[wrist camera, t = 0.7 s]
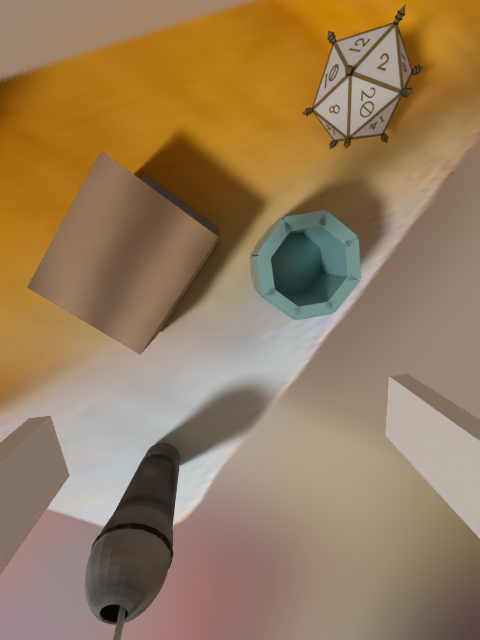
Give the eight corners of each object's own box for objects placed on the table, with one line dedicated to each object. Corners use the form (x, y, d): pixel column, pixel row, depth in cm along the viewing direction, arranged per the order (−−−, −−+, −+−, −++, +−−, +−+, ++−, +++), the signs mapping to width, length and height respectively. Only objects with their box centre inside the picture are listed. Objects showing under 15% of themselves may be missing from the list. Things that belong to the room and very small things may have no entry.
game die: (341, 141, 30) (421, 156, 23) (281, 149, 27) (353, 169, 20) (365, 24, 23) (484, 0, 17) (291, 18, 21) (400, -13, 14)
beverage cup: (156, 424, 33) (58, 665, 13) (201, 453, 34) (169, 708, 15) (124, 461, 34) (-12, 734, 14) (168, 488, 35) (99, 769, 16)
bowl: (235, 275, 29) (238, 280, 22) (282, 206, 27) (301, 189, 21) (296, 318, 30) (316, 335, 24) (344, 256, 29) (380, 255, 22)
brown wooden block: (69, 281, 28) (27, 287, 22) (129, 175, 25) (101, 150, 20) (156, 335, 30) (140, 354, 24) (219, 241, 27) (218, 236, 22)
